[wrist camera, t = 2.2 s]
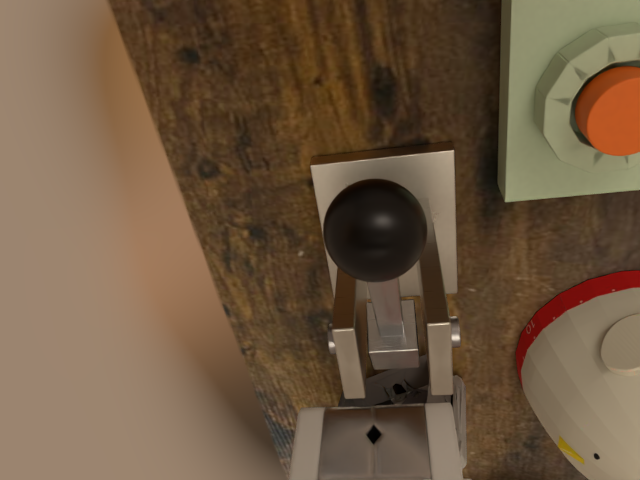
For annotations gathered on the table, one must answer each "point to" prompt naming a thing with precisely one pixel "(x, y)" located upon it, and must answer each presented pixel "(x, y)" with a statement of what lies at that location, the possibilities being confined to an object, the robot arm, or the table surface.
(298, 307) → the table surface
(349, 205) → the switch lever
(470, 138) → the table surface
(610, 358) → the kitchen timer
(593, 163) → the control block
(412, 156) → the switch bracket
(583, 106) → the button
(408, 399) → the electrical switch
